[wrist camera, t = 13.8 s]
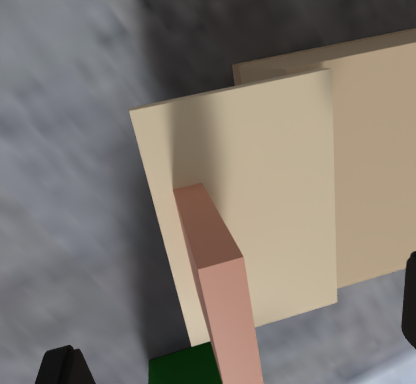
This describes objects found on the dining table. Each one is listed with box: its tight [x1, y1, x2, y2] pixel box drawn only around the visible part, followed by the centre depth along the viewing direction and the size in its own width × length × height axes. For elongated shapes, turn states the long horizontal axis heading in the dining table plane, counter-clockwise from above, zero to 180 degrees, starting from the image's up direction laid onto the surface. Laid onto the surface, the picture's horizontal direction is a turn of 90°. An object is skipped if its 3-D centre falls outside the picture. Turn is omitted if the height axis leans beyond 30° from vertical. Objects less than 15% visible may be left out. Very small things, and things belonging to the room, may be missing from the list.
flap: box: [129, 68, 337, 384], centre depth 13 cm, size 8×12×6 cm
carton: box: [232, 28, 416, 289], centre depth 21 cm, size 16×12×8 cm
